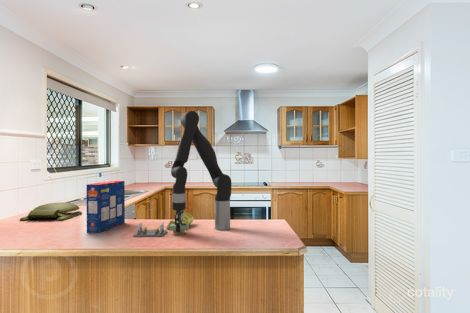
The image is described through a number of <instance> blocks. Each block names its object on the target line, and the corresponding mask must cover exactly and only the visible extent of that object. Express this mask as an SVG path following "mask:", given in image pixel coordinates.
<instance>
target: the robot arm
mask: <svg viewBox="0 0 470 313" xmlns="http://www.w3.org/2000/svg"><path fill="white" fill-rule="evenodd" d="M199 122H200V116H199V114H198V113H197V111H194V110H189V111H186V112H184V113H182V115H181V116H180V123H181V125H182V127H183V128H184V129H183V133H182V136H181V139H180V141H179V143H178V146H177V151H176V156H175V159H174V161H173V163H172V166H171V170H170V174H171V176H172V177H173V178H174V179H175V182H174V183H173V185H172V197H171V198H172V201H171V202H172V204H171V205H172V208H171V209H172V210H173V211H175V213H174V221H175V225H176V232H180V224H182V222H183V213H184V211H185V210H186V208H187V206H186V205H187V197H186V185H187V184H186V183H187V181H188V169H187V168H186V167H185V164H187V162H188V160H189V158H190V157H189V156H190V153H191V152H190V151H191V147H192V144H193V146H194V147H195V150H196V151H197V154H198V155H199V158H200V159H201V161H202V163H203V165H204V167H205V168H206V169H207V171H208V173H209V176H210V178H211V181H212V183H213V185H214V187H215V188H216V195H215V196H214V229H215V230H216V231H217V230H218V231H228V230H230V229H231V197H232V196H231V195H232V178H231V176H230V175H228V174H226V173H224V172H222V170H221V167H220V165H219V163H218V159H217V154H216V152H215V150H214V149H215V148H214V147H213V146H212V143H211V142H210V141H209V140H208V138H207V137H205V135H204V134H203V133H202V132H201V130H200V128H199V127H198V124H199ZM177 221H178V223H177Z"/></svg>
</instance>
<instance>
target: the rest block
mask: <svg viewBox="0 0 470 313" xmlns="http://www.w3.org/2000/svg"><path fill="white" fill-rule="evenodd" d="M172 233H173V234H172V235H176V236H177V235H185V233H186V230H180V232H176V230H172Z"/></svg>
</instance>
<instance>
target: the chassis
mask: <svg viewBox="0 0 470 313" xmlns="http://www.w3.org/2000/svg"><path fill="white" fill-rule="evenodd" d="M136 229H137V232H135V233H134V234H133V235H132V237H133V238H137V237H138V238H163V237H164V236H165V235H166V233H167V232H168V229H165V222H161V224H159V226H157V227H156V228H154V229H148V228H147V226H145V227H143V222H139V223H138V224H137V228H136Z"/></svg>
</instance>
